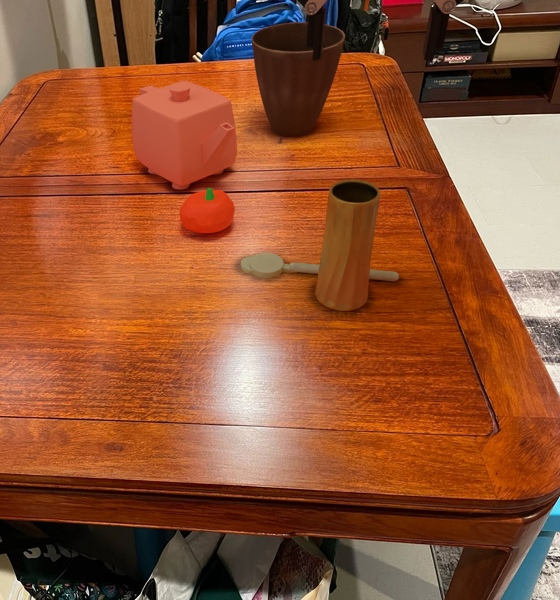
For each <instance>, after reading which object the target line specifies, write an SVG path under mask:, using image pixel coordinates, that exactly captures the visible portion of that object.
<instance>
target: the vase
mask: <svg viewBox="0 0 560 600" xmlns="http://www.w3.org/2000/svg"><path fill="white" fill-rule="evenodd" d="M380 201H381V191H380V188H379V187H377V186H376V185H375V184H374V183H372V182H369V181H366V180H362V179H344V180H340V181H337V182H335V183H333V184H332V185H331V186H330V187H329V190H328V193H327V203H326V204H327V205H326V213H325V224H324V232H323V237H322V238H323V239H322V246H321V253H320V259H319V260H320V261H319V272H318V274H317V280H316V286H315V289H314V295H315V298H316V300H317V301H318V302H319V303H320V304H321V305H322V306H324V307H325V308H328V309H331V310H334V311H338V312H339V311H340V312H350V311H351V312H352V311H355V310H358V309H360V308H361V307H363V306H364V305H365V304H366V303H367V302H368V298H369V284H370V283H369V281H370V279H369V274H370V269H371V264H372V263H371V262H372V255H373V248H374V240H375V234H376V233H375V232H376V225H377V218H378V211H379V207H380Z"/></svg>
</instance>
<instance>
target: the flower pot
mask: <svg viewBox="0 0 560 600" xmlns="http://www.w3.org/2000/svg"><path fill="white" fill-rule="evenodd" d="M307 26H308V21H307V22H306V21H298V22H296V21H295V22H285V23H278V24H273V25H270V26H266V27H263V28H260V29H258V30H257V31H256V32H254V33H253V34H252V36H251V47H252V54H253V63H254V69H255V76H256V82H257V86H258V90H259V95H260V99H261V102H262V103H261V104H262V106H263V109H264V112H265V115H266V118H267V121H268V124H269V127H270V130H271V131H272V132H273V133H274V134H276V135H278V136H282V137H288V138H289V137H290V138H294V137H295V138H296V137H302V136H306V135H308V134H310V133H311V132H313V130H314V129H315V126H316V124H317V122H318V120H319V118H320V116H321V114H322V112H323V109H324V106H325V104H326V102H327V99H328V97H329V94H330V91H331V90H332V86H333V83H334V79H335V77H336V74H337V70H338V67H339V63H340V60H341V56H342V52H343V48H344V44H345V39H346V34H345V33H344V31H343V30H341V29H340V28H338V27H336V26H333V25H330V24H326V23H325V30H324V43H323V51H322V55H321V59H318V61H313V48H306V42H307Z"/></svg>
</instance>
